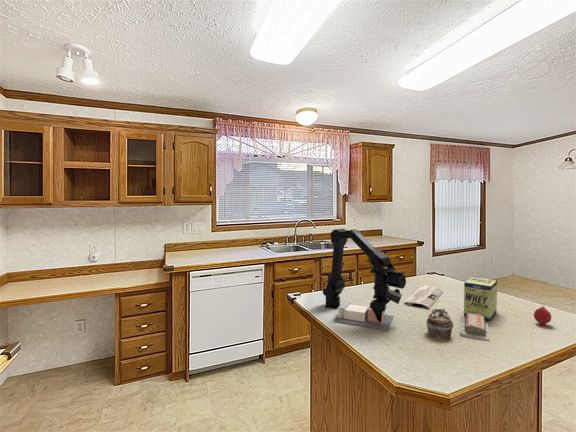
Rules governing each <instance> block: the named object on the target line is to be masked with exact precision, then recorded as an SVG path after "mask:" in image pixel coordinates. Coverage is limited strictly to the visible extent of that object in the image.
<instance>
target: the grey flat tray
mask: <svg viewBox="0 0 576 432" xmlns="http://www.w3.org/2000/svg"><path fill="white" fill-rule="evenodd" d="M369 307H370V306H365V305H364V306H363V305H356V304H351V302H350V301H344V302H343V303H341V304H340V306H339V307H338V308H337V317H336V318H335V319H334V323H338V324H346V325H350V326H356V327H357V326H358V327H363V328H369V329H376V330H382V331H387V332H388V331H389V330H390V327H391V325H392V323H393V320H394V318H395V317H394V315H390V314H384V320H383V322H382V323H379V322H372V321H368V309H369Z"/></svg>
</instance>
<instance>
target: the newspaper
mask: <svg viewBox="0 0 576 432" xmlns="http://www.w3.org/2000/svg"><path fill="white" fill-rule="evenodd" d="M443 293H444V290H443V288H441V287H437V286H430V285H427V284H424V283H423V284H422V285H421V286H420V287H419V288H418V289H417V290H416V291H415V292H414V293H413V294H412V295H410V296H408V297H407V298H406V299H405V300H404V301H403V302H404V303H407V306H409V307H413V306H414V304H418V305H421V308H422V309H426V310H430V309H431V308H432V307H433V305H434V304H435V303H436V302H437V300H438V299H439V297H440V296H441V295H442V294H443Z"/></svg>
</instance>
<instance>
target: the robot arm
mask: <svg viewBox="0 0 576 432" xmlns="http://www.w3.org/2000/svg"><path fill="white" fill-rule="evenodd" d="M348 239H351V240H352V241H353V243H355V245H356V246H357V247H358V248H360V250H362V251H363V253H364V254H365V255H366V256H367V258H368V261H369V263H370V265H372V267H373V268H372V269H371V270H369V273H371V274H372V273H373V274H374V277H373V280H374V284H373V290H374V292H373V293H374V294H373V297H372V298H373V299H372V300H371V301H370V303H369V307H370V308H371V309H372V310H373V311H374V313H375V316H376V318H377V320H378V322H381V319H382V314H383V311H384V314H385V311H386V310H387V304H389V303H390V302H394V303H395V304H400V302H401V299H402V296H403V295H402V293H401V290H400V289H402V290H403V289H404V288H405V287H406V284H407V278H406V276H405V275H404V271H396V268H395V266H394V265H393V264H392V262H391V258H390V257H389V256H388V255H387V254H386V253H384V252H383V251H380V250H379V249H377V248H376V247H375V246H373V244H371V243H370V241H369V240H367V238H366V237H365V236H363V234H362V233H360V231H359V229H356V228H355V229H345V228H335V229H333V230H331V232H330V242H331V245H332V247H333V250H332V262H331V274H330V276H329V278H328V280H327V283H326V287H325V288H324V289H323V290H322V295H323V296H325V305H324V308H328V309H336V310H338V309H339V307H340V306H341V297H340V294H342V292H343V290H344V289H345V288H346V284H345V283H346V279H345V278H343V276H342V272H343V271H342V270H343V262H344V261H343V258H344V257H343V256H344V249H345V246H346V244H347V243H348ZM390 287H392V288H395V289H390Z"/></svg>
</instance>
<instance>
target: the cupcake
mask: <svg viewBox="0 0 576 432" xmlns="http://www.w3.org/2000/svg"><path fill="white" fill-rule="evenodd" d="M427 317H428V318H427V320H426V326H427V327H426V328H427V332H428V335H429V336H430V337H432V338H434V339H437V340H449V339H450V338H451V336H452V331H453V328H454V322H453V321H452V319H451V316H450V314H448V311H447V310H446V309H445V308H439V309H438V308H433V309H431V312H430V314H429V315H428V316H427Z"/></svg>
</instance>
